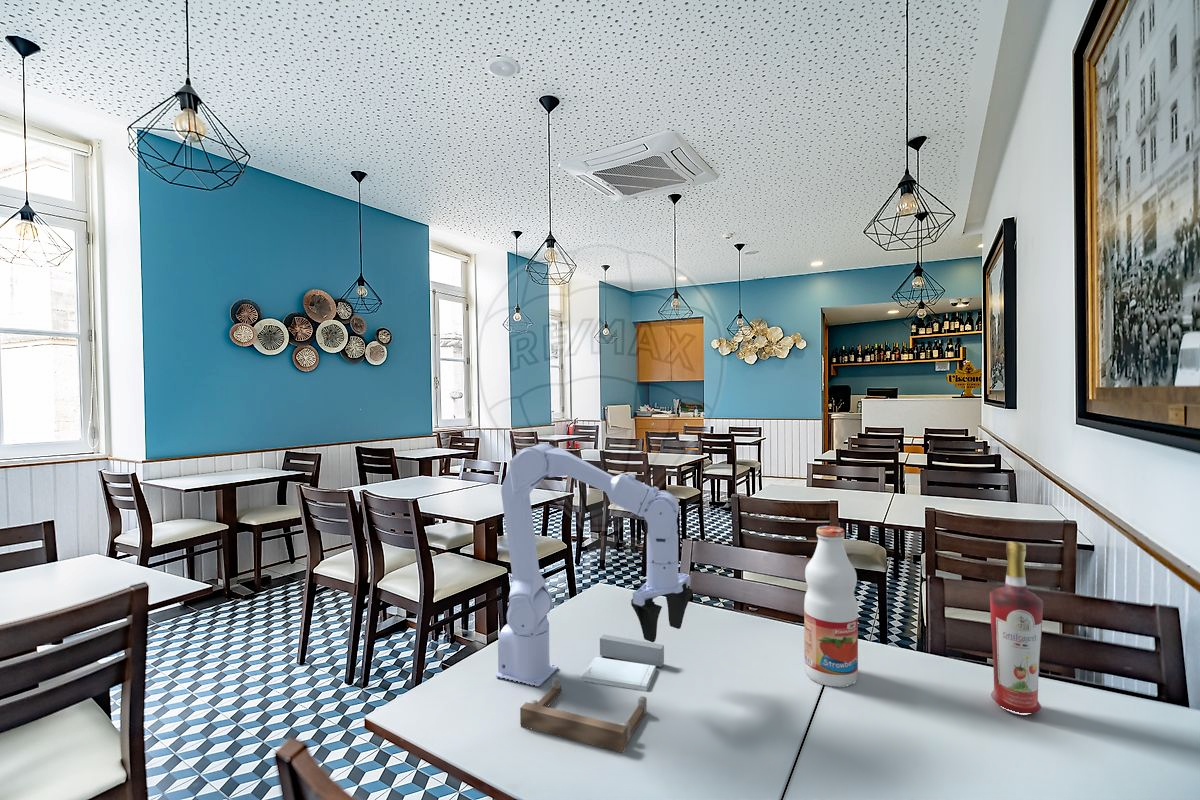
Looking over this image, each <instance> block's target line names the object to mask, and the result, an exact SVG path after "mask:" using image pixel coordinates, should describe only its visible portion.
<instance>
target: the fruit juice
mask: <svg viewBox="0 0 1200 800" xmlns="http://www.w3.org/2000/svg"><path fill="white" fill-rule="evenodd" d="M815 533H816V537H817V544H816V548H815V551H814V552H813V555H812V557H811V559H810V560H809V561H808V563H807V564H806V566H805V569H804V570H805V571H804V578H805V579H804V580H805V582H806V585H807V589H806V592H805V595H804V603H803V610H804V611H803V612H804V613H803V615H804V618H803V619H804V620H803V621H804V623H803V624H804V625H803V626H804V628H803V629H804V632H803V633H804V635H803V637H804V638H803V641H804V643H803V644H804V650H803V653H804V654H803V656H804V657H803V658H804V671H805V674H806V676H807V677H808V678H810V679H811V680H812V681H814V682H816V683H818V684H820V685H824V686H828V687H832V686H834V688H840V687H839V686H847V685H851V684H853V683H854V682H855V681H856V680H858V676H859V663H858V661H859V653H858V652H859V647H858V646H859V642H858V641H859V639H858V638H859V630H858V628H859V607H858V601H857V598H856V596H855V590H856V586H857V582H858V576H857V575H858V574H857V571H856V569H855V567H854V566H853V564H852V563H851V561H850V559H849V557H848V555H847V552H846V549H845V545H844V539H845V535H846V534H845V529H844V528H842V527H838V526H835V525H834V526H833V525H821V526H818V527H817V528H816V532H815ZM856 682H857V681H856ZM856 682H855V683H856ZM855 683H854V684H855ZM854 684H853V685H854ZM836 686H838V687H836ZM851 686H852V685H851ZM847 687H848V686H847Z"/></svg>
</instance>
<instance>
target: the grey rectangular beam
mask: <svg viewBox="0 0 1200 800" xmlns="http://www.w3.org/2000/svg"><path fill="white" fill-rule="evenodd" d="M599 655H600V656H602V657H607V658H611V659H612V658H614V659H616V660H621V661H627V662H633V663H640V664H647V665H653V666H656V667H660V668H661V667H663V665H664V664H665V645H664V644H661V643H655V642H650V641H643V640H639V639H638V640H637V639H632V638H626V637H620V636H615V635H609V634H602V635H601V636H600V637H599Z"/></svg>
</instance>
